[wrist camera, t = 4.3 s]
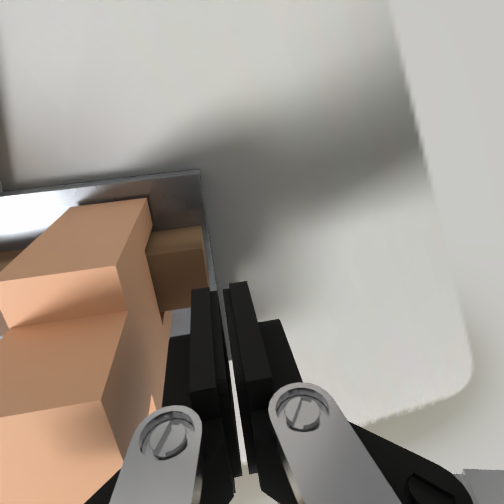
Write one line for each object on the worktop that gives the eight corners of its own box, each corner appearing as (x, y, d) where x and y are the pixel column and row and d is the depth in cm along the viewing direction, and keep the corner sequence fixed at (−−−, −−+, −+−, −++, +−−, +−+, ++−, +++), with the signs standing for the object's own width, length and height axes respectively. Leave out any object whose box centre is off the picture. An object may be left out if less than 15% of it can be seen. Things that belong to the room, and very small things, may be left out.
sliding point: (70, 207, 14) (-110, 373, 6) (146, 197, 14) (79, 343, 6) (130, 396, 18) (77, 644, 10) (188, 386, 19) (182, 619, 10)
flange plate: (-263, 222, 14) (-299, 232, 13) (199, 168, 15) (199, 174, 14) (-115, 419, 18) (-132, 438, 17) (227, 362, 20) (229, 376, 19)
